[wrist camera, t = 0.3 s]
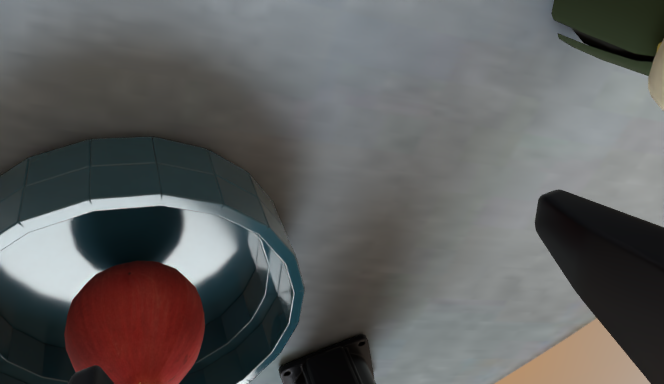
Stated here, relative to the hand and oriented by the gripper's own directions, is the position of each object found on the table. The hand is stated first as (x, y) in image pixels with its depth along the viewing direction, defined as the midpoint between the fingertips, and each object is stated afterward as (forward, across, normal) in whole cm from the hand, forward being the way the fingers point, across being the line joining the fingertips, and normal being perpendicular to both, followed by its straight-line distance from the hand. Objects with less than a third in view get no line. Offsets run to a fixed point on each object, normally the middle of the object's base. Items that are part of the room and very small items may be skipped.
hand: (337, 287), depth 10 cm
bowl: (+14, +7, +10) cm, 19 cm away
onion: (+14, +7, +10) cm, 19 cm away
